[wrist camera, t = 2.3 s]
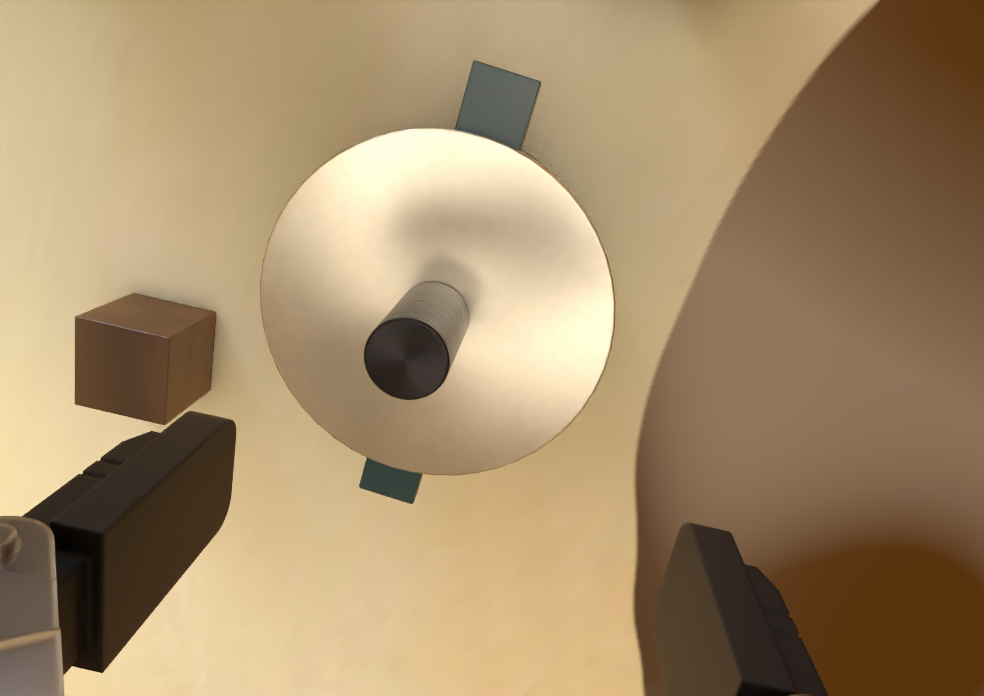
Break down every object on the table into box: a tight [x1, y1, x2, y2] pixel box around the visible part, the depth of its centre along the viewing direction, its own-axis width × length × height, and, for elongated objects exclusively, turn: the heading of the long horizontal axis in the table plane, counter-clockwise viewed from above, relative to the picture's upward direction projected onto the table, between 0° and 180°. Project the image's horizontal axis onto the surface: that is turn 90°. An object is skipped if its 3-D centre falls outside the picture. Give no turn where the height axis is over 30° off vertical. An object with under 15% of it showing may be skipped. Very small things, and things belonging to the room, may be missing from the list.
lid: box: [260, 128, 615, 475], centre depth 23 cm, size 13×13×6 cm
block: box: [75, 293, 216, 425], centre depth 34 cm, size 4×4×4 cm
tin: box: [359, 61, 565, 504], centre depth 29 cm, size 12×17×8 cm
